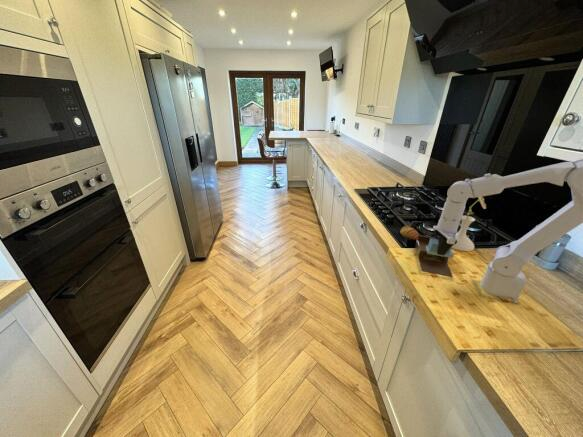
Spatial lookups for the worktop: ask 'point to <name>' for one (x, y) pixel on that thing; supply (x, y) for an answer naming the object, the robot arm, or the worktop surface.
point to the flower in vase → (461, 238)
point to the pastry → (409, 233)
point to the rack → (428, 264)
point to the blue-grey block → (436, 248)
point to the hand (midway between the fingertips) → (439, 250)
